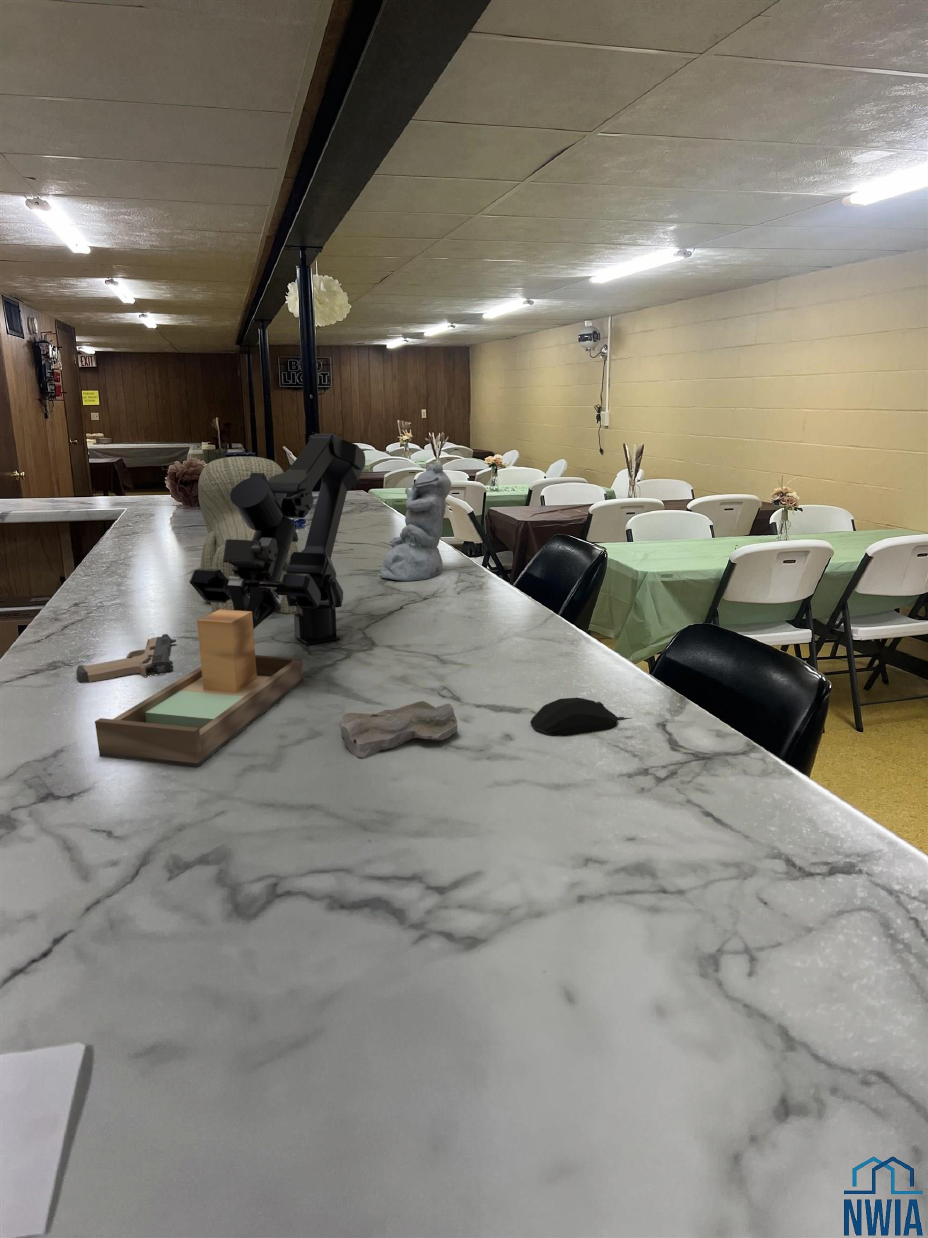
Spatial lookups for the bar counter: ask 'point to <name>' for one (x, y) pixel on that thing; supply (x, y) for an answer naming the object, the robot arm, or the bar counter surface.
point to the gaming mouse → (574, 717)
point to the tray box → (190, 744)
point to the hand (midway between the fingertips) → (239, 637)
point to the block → (227, 650)
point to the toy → (230, 514)
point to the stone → (396, 727)
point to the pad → (190, 709)
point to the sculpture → (420, 529)
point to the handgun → (132, 662)
